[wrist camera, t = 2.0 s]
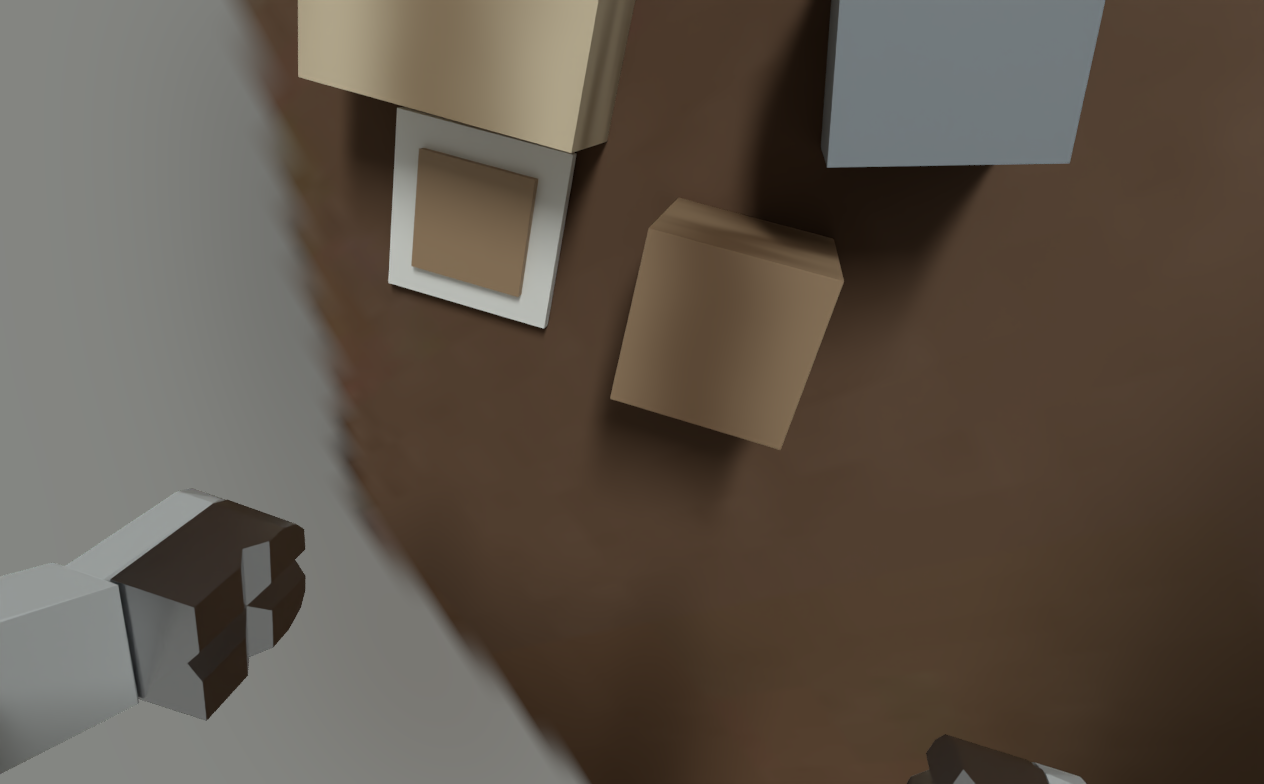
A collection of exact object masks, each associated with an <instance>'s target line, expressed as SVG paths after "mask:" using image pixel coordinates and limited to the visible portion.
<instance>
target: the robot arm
mask: <svg viewBox="0 0 1264 784" xmlns="http://www.w3.org/2000/svg"><path fill="white" fill-rule="evenodd" d="M304 550H305V537H304V529H303V528H301V527H300V526H298V525H296V524H294V523H292V522H289V521H286V520H283V519H280V518H277V517H275V516H272V515H269V514H266V513H263V512H260V511H258V510H255V509H252V508H249V507H246V506H244V505H241V504H238V503H235V502H232V501H230V500H225V499H222V498H219V497H216V496H213V495H210V494H208V493H205V492H202V491H199V490H196V489H194V488H190V489H186V490H181V491H177V492H175V493H174V494H172V495H171V496H169V497H168V498H166V499H165V500H163V501H162V502H161V503H159V504H157V505H156V506H154V507H153V508H151V509H150V510H148V511H147V512H145V513H144V514H142V515H141V516H139V517H138V518H136V519H135V520H133V521H132V522H130V523H129V524H127V525H126V526H124V527H123V528H121V529H120V530H118V531H117V532H115V533H114V534H113V535H111V536H109V537H108V538H106V539H105V540H103V541H102V542H100V543H99V544H97V545H96V546H94V547H93V548H92V549H90V550H88V551H87V552H85V553H84V554H82V555H81V556H79V557H78V558H76V559H75V560H73V561H72V562H70V563H69V564H67V565H66V566H63V565H60V564H56V563H49V564H45V565H42V566H38V567H34V568H30V569H27V570H23V571H19V572H15V573H11V574H7V575H4V576H0V774H1V773H3V772H5V771H7V770H9V769H11V768H13V767H15V766H17V765H19V764H21V763H23V762H25V761H27V760H29V759H31V758H33V757H34V756H36V755H39V754H41V753H43V752H45V751H46V750H48V749H50V748H52V747H54V746H56V745H58V744H60V743H62V742H64V741H66V740H68V739H70V738H72V737H74V736H76V735H78V734H80V733H82V732H84V731H86V730H88V729H90V728H91V727H94V726H96V725H97V724H100V723H102V722H103V721H106V720H108V719H109V718H111V717H113V716H115V715H117V714H119V713H121V712H123V711H125V710H127V709H129V708H131V707H133V706H135V705H137V704H138V703H139V700H138V699H140V700H144V701H147V702H150V703H153V704H156V705H159V706H162V707H165V708H169V709H172V710H175V711H178V712H181V713H184V714H187V715H191V716H193V717H196V718H199V719H203V720H207V719H209V718H210V716H211V715H212V714H213V713H214V712H215V711H216V710H217V709H218V708H219V707H220V705H221V704H222V703H223V702H224V701H225V700H226V699H227V698H228V697H229V696H230V694H231V693H232V692H233V691H234V690H235V689H236V688H237V687H238V686H239V685H240V683H241V682H242V681H243V680H244V679H245V678H246V677H247V676H248V666H249V657H251V656H253V655H256V654H258V653H261V652H263V651H266V650H268V649H270V648H273V647H274V646H275V645H276V644H277V642H278V641H279V640H280V639H281V637H283V635H284V634H285V633H286V632H287V631H288V630H289V628H290V626H291V624H292V623H293V621H294V619H295V617H296V615H297V613H298V612H299V610H300V608H301V605H302V601H303V597H304V593H305V575H304V573H303V571H302V570H301V568H300V567H299V565H298V564H297V562H296V561H295V559H296V558H297V557H298V556H299V555H300V554H301V553H302V552H303V551H304ZM926 755H927V760H928V765H929V769H930V770H927V771H925V772H922V773H919V774H917V775H914V776H911V777H910V779H909V780H908V782H907V784H1086V783H1085V782H1084V780H1083V779H1082V778H1081V777H1079V776H1076V775H1073V774H1070V773H1067V772H1063V771H1060V770H1057V769H1054V768H1051V767H1048V766H1044V765H1041V764H1038V763H1035V762H1030V761H1028V760H1026V759H1023V758H1019V757H1016V756H1013V755H1010V754H1007V753H1004V752H1000V751H997V750H994V749H991V748H988V747H984V746H981V745H978V744H975V743H972V742H968V741H965V740H962V739H959V738H956V737H952V736H949V735H946V734H945V735H943V736H941V737H939V738H937V739H936V740H935V741H934V742H933V744H932V745H931V747H930V748H929V750H928V751H927V753H926Z"/></svg>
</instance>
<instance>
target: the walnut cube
mask: <svg viewBox="0 0 1264 784" xmlns="http://www.w3.org/2000/svg"><path fill="white" fill-rule="evenodd" d="M843 283H844V279H843V275H842V271H841V266H840V262H839V258H838V254H837V250H836V245H835V241H834V239H833V238H829V237H825V236H821V235H818V234H814V233H810V232H807V231H803V230H799V229H795V228H792V227H788V226H784V225H780V224H777V223H773V222H769V221H765V220H762V219H758V218H754V217H750V216H747V215H743V214H739V213H735V212H732V211H728V210H724V209H720V208H717V207H713V206H709V205H705V204H702V203H698V202H694V201H690V200H687V199H683V198H678V199H677V200H676V201H675V202H674V203H673V204H672V205H671V206H670V207H669V208H668V209H667V210H666V211H665V212H664V213H663V214H662V215H661V216H660V217H659V218H658V219H657V220H656V221H655V222H654V223H653V224H652V225H651V226H650V227H649V229H648V234H647V238H646V242H645V247H644V251H643V255H642V260H641V264H640V269H639V273H638V277H637V282H636V286H635V291H634V295H633V299H632V304H631V308H630V313H629V317H628V321H627V326H626V330H625V334H624V339H623V343H622V348H621V352H620V356H619V361H618V365H617V370H616V374H615V378H614V383H613V387H612V392H611V396H610V399H612V400H616V401H619V402H622V403H626V404H629V405H632V406H636V407H639V408H642V409H646V410H649V411H652V412H656V413H659V414H662V415H666V416H669V417H672V418H676V419H679V420H682V421H686V422H689V423H692V424H696V425H699V426H702V427H706V428H709V429H712V430H716V431H719V432H722V433H726V434H729V435H732V436H736V437H739V438H742V439H745V440H749V441H752V442H755V443H759V444H762V445H765V446H769V447H772V448H775V449H779V450H781V447H782V444H783V442H784V439H785V436H786V434H787V431H788V429H789V426H790V423H791V421H792V418H793V415H794V413H795V410H796V407H797V405H798V402H799V399H800V397H801V394H802V391H803V389H804V386H805V384H806V381H807V378H808V376H809V373H810V370H811V368H812V365H813V362H814V360H815V357H816V354H817V352H818V349H819V346H820V344H821V341H822V338H823V336H824V333H825V331H826V328H827V325H828V323H829V320H830V317H831V315H832V312H833V309H834V307H835V304H836V301H837V299H838V296H839V293H840V291H841V288H842V286H843Z"/></svg>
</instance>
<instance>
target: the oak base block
mask: <svg viewBox="0 0 1264 784" xmlns="http://www.w3.org/2000/svg"><path fill="white" fill-rule="evenodd" d="M634 4H635V0H298V77H301V78H304V79H308V80H311V81H315V82H319V83H322V84H326V85H329V86H333V87H337V88H340V89H344V90H347V91H351V92H354V93H358V94H362V95H365V96H369V97H372V98H376V99H379V100H383V101H387V102H390V103H394V104H397V105H401V106H404V107H408V108H412V109H415V110H419V111H422V112H426V113H429V114H433V115H437V116H440V117H444V118H447V119H451V120H455V121H458V122H462V123H465V124H469V125H472V126H476V127H480V128H483V129H487V130H490V131H494V132H497V133H501V134H505V135H508V136H512V137H515V138H519V139H522V140H526V141H530V142H533V143H537V144H540V145H544V146H548V147H551V148H555V149H558V150H562V151H565V152H569V153H573V152H576V151H580V150H583V149H586V148H589V147H592V146H595V145H598V144H601V143H604V142H607V140H608V135H609V130H610V125H611V120H612V114H613V109H614V104H615V99H616V94H617V89H618V84H619V79H620V74H621V69H622V64H623V59H624V54H625V49H626V44H627V39H628V34H629V29H630V24H631V19H632V14H633V9H634Z"/></svg>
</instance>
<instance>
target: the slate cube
mask: <svg viewBox="0 0 1264 784" xmlns="http://www.w3.org/2000/svg"><path fill="white" fill-rule="evenodd" d="M1104 4H1105V0H831V9H830V23H829V37H828V52H827V66H826V80H825V94H824V108H823V122H822V136H821V150H822V153H823V156H824V159H825V162H826V166H827V168H832V167H889V166H946V165H1003V164H1060V163H1070V159H1071V154H1072V150H1073V145H1074V141H1075V136H1076V132H1077V127H1078V122H1079V118H1080V113H1081V109H1082V104H1083V100H1084V95H1085V90H1086V86H1087V81H1088V77H1089V72H1090V68H1091V63H1092V58H1093V54H1094V49H1095V45H1096V40H1097V36H1098V31H1099V26H1100V22H1101V17H1102V13H1103V8H1104Z"/></svg>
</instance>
